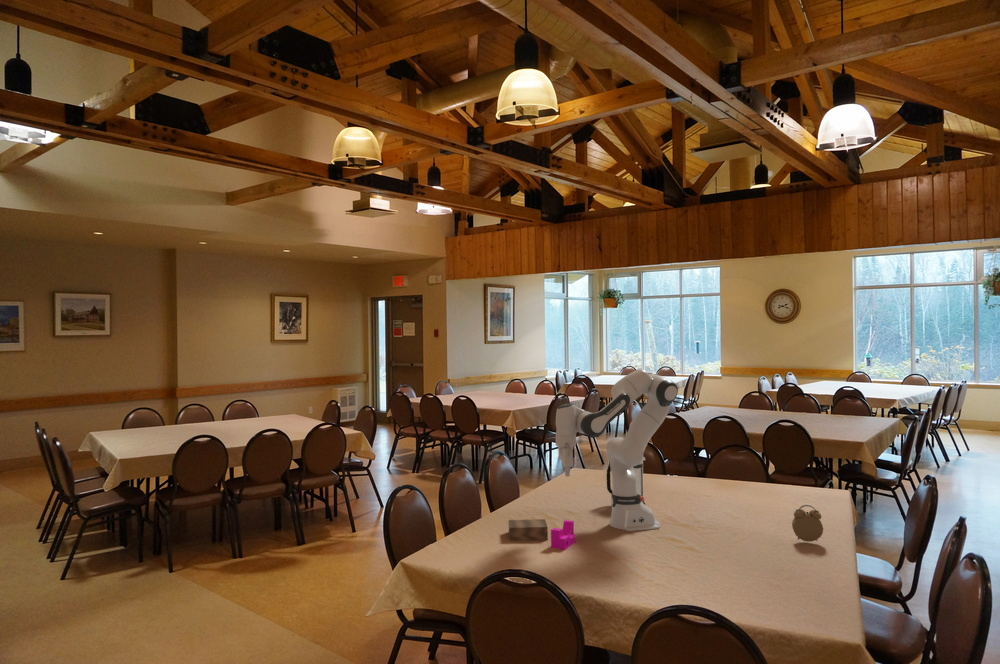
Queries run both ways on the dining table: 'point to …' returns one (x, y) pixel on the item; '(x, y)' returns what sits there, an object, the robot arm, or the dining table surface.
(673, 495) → the dining table surface
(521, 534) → the walnut plinth
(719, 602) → the dining table surface
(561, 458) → the robot arm
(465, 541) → the dining table surface
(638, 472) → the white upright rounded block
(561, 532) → the toy block
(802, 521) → the alarm clock
